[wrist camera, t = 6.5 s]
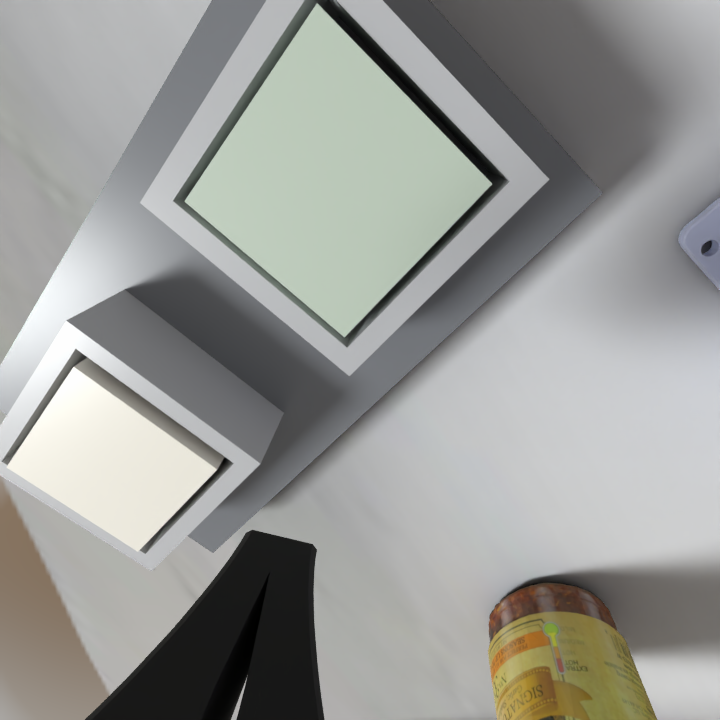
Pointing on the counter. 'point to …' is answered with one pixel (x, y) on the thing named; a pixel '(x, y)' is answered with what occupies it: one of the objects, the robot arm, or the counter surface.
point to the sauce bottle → (561, 659)
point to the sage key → (335, 177)
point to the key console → (254, 284)
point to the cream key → (113, 456)
